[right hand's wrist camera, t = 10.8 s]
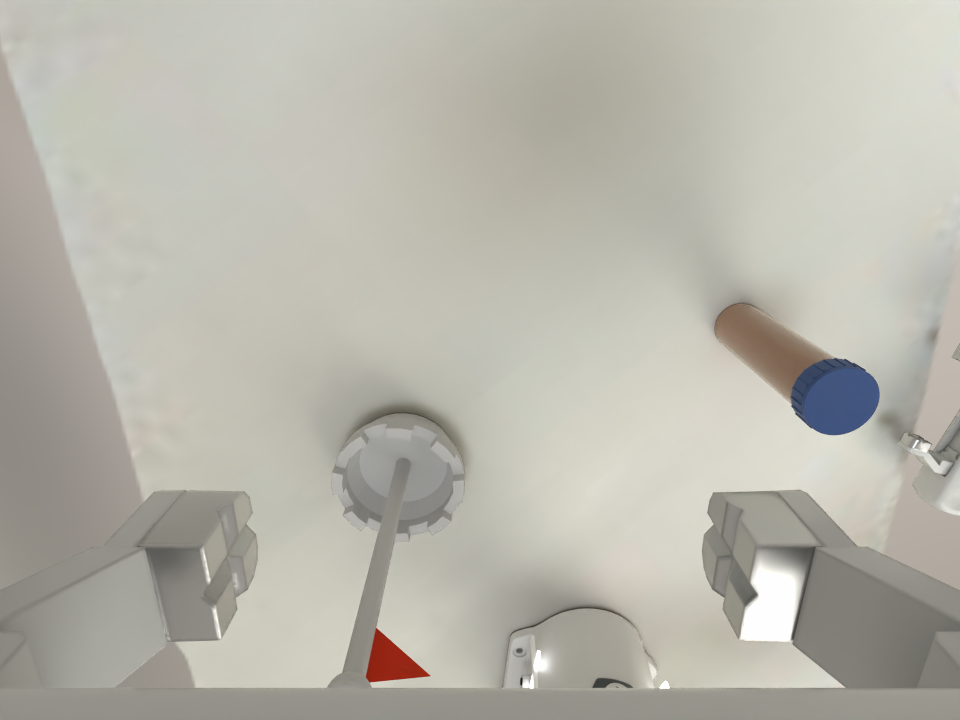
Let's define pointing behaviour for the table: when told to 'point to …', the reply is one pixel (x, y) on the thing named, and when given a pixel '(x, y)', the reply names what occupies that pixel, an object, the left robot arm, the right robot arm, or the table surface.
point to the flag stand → (392, 522)
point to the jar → (767, 346)
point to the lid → (834, 396)
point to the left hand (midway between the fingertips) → (932, 398)
